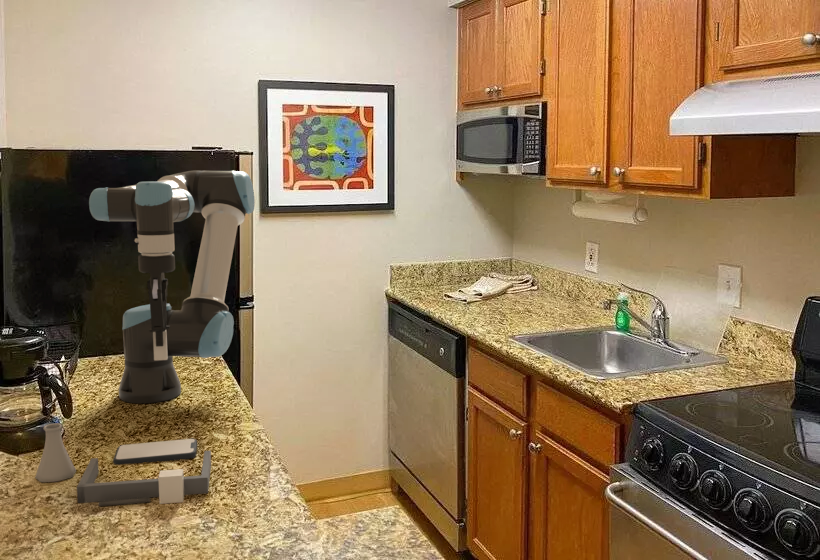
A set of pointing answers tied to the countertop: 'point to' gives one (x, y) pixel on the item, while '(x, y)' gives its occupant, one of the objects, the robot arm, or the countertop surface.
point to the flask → (54, 457)
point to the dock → (143, 486)
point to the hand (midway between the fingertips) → (160, 359)
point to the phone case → (156, 451)
